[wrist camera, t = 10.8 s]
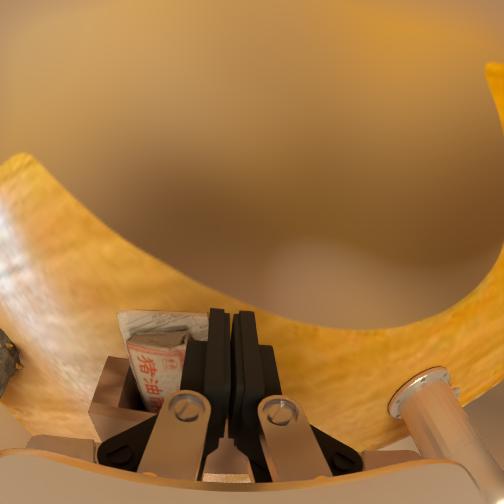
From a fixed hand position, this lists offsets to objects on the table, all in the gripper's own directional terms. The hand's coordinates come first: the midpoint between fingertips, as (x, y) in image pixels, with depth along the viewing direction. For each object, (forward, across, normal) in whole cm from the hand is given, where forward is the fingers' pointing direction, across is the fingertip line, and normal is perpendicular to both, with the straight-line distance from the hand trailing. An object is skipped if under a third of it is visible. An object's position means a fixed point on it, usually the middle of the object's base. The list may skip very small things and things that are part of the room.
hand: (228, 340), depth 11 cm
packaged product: (+17, +5, +19) cm, 26 cm away
